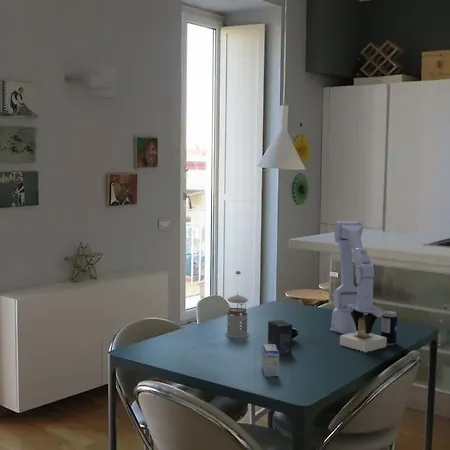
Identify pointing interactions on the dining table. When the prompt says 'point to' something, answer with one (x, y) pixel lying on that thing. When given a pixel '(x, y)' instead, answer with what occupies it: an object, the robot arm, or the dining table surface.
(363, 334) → the beech peg
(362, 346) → the socket block
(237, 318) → the french press
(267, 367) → the medicine box
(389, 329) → the beverage can
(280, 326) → the box
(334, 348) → the dining table surface
